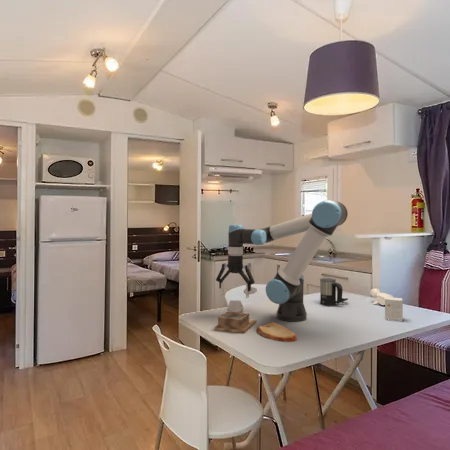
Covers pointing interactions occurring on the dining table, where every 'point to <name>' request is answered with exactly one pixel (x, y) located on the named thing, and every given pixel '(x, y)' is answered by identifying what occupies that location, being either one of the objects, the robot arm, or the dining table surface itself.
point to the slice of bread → (276, 332)
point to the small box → (393, 308)
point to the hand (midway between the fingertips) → (234, 296)
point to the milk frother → (330, 292)
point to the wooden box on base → (234, 322)
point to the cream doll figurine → (379, 296)
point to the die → (235, 306)
